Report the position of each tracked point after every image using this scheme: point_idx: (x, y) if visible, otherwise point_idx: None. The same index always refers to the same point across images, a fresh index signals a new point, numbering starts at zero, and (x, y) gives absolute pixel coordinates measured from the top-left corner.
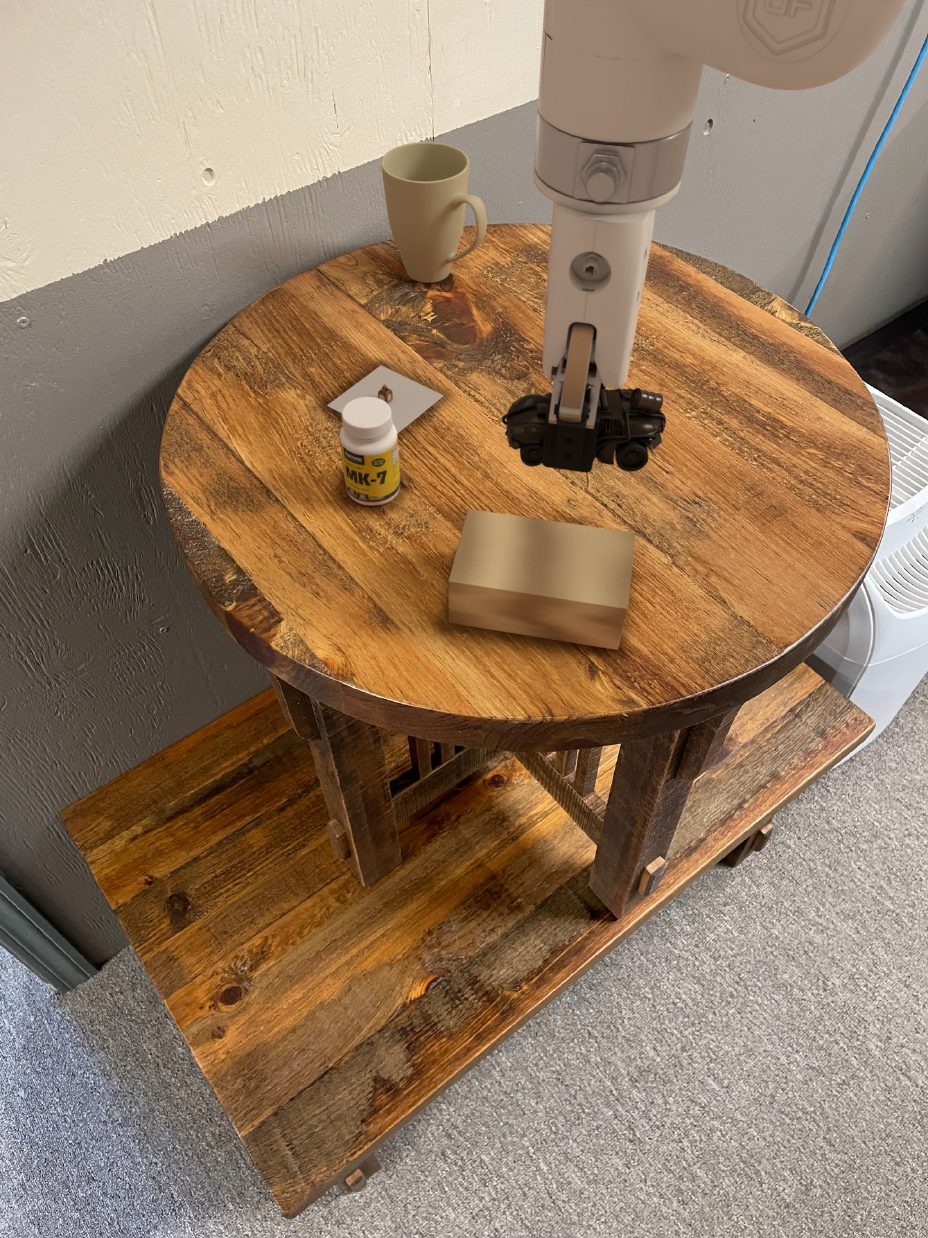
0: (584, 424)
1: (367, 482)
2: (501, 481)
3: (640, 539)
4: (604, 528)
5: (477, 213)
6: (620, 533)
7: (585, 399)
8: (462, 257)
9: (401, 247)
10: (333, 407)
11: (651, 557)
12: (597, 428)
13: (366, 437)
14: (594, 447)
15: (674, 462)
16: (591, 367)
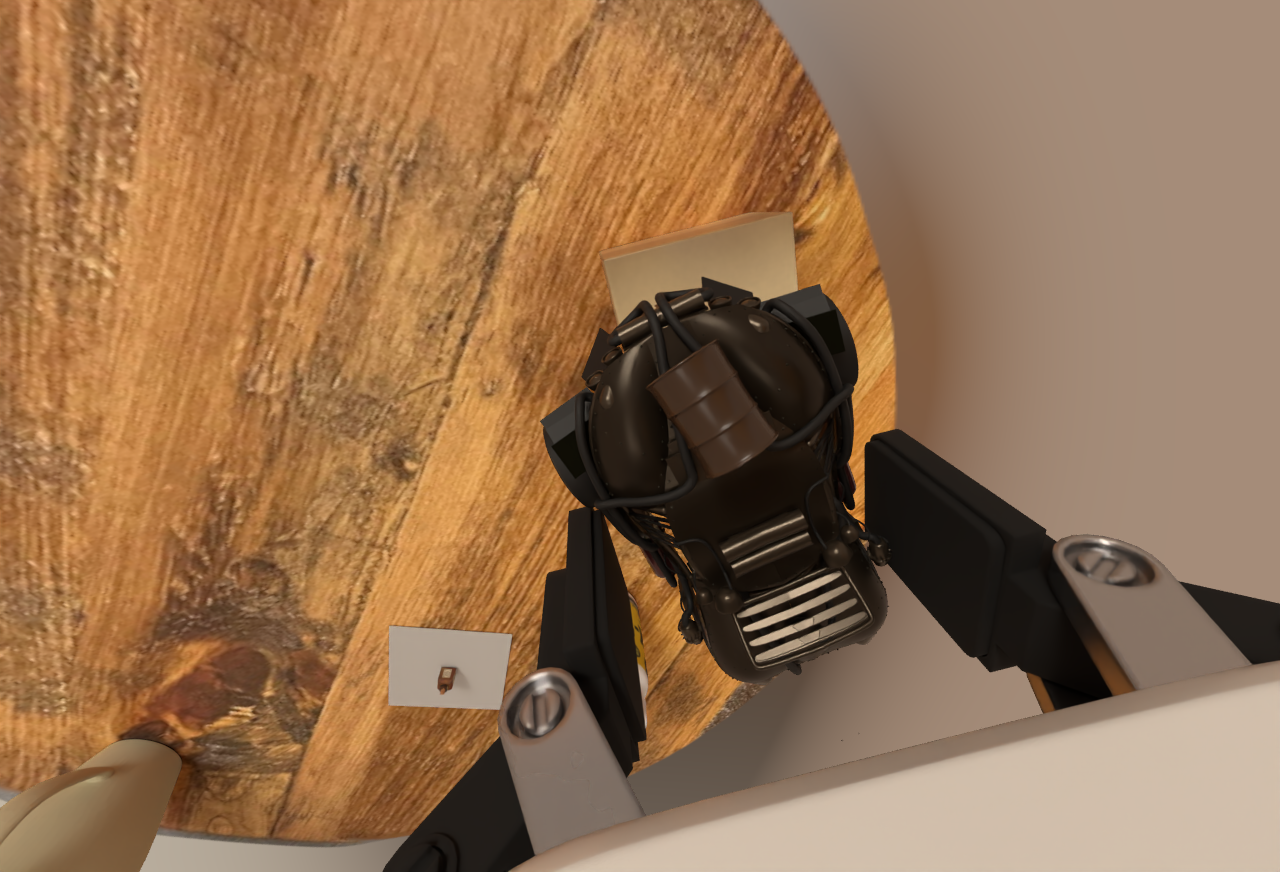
0: (1243, 597)
1: (640, 631)
2: (505, 493)
3: (506, 254)
4: (618, 320)
5: None
6: (617, 287)
7: (757, 577)
8: (85, 770)
9: (156, 832)
10: (499, 703)
11: (537, 221)
12: (1021, 516)
13: (642, 696)
14: (959, 471)
15: (271, 256)
16: (619, 632)
